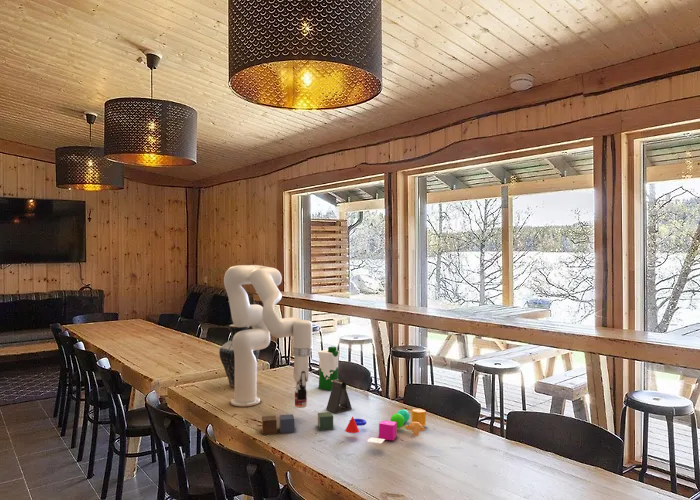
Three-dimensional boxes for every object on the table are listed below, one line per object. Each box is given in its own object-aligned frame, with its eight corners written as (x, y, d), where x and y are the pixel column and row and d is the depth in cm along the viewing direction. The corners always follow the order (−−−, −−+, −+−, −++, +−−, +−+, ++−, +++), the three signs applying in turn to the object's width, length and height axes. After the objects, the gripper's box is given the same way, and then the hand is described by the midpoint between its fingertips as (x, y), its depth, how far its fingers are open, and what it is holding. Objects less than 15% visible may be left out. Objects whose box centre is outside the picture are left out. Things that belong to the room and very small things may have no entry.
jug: (255, 391, 239) (255, 327, 239) (214, 390, 239) (214, 327, 239) (263, 379, 259) (263, 321, 259) (225, 379, 260) (226, 321, 260)
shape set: (435, 428, 194) (435, 409, 195) (417, 454, 161) (417, 431, 162) (362, 419, 204) (363, 401, 205) (331, 442, 171) (332, 420, 172)
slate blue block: (279, 428, 188) (279, 415, 188) (292, 427, 190) (292, 414, 190) (280, 433, 184) (280, 419, 184) (294, 432, 185) (294, 418, 185)
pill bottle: (294, 404, 203) (295, 383, 202) (306, 404, 203) (307, 383, 203) (294, 408, 198) (295, 386, 198) (306, 408, 198) (307, 387, 198)
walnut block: (261, 429, 187) (262, 416, 187) (275, 428, 188) (275, 415, 188) (262, 434, 182) (262, 420, 182) (276, 433, 183) (276, 419, 183)
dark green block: (317, 425, 192) (317, 412, 192) (330, 424, 193) (330, 411, 193) (320, 430, 187) (320, 416, 187) (333, 429, 188) (333, 416, 188)
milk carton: (330, 391, 239) (330, 349, 239) (315, 388, 244) (315, 347, 244) (341, 387, 246) (341, 346, 246) (326, 384, 251) (327, 344, 251)
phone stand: (334, 413, 206) (334, 384, 206) (326, 409, 211) (326, 381, 211) (351, 409, 212) (352, 381, 212) (343, 406, 217) (343, 378, 217)
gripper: (290, 347, 208) (289, 391, 208) (295, 356, 191) (294, 404, 191) (308, 346, 209) (307, 390, 209) (314, 356, 193) (313, 403, 193)
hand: (300, 396), depth 200 cm, fingers closed on pill bottle, 4 cm apart
